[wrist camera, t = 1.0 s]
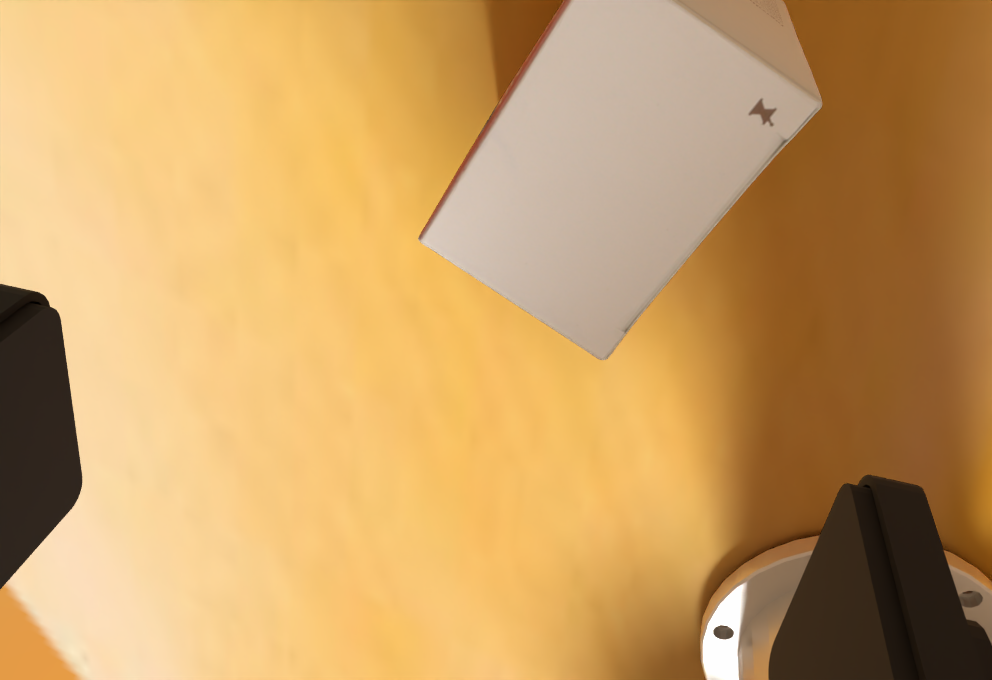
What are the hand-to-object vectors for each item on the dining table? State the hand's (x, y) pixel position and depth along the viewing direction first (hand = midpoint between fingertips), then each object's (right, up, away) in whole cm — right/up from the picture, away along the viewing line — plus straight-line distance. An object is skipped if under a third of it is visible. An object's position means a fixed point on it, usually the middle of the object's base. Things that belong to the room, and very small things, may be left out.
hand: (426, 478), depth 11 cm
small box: (+5, +10, +18) cm, 22 cm away
